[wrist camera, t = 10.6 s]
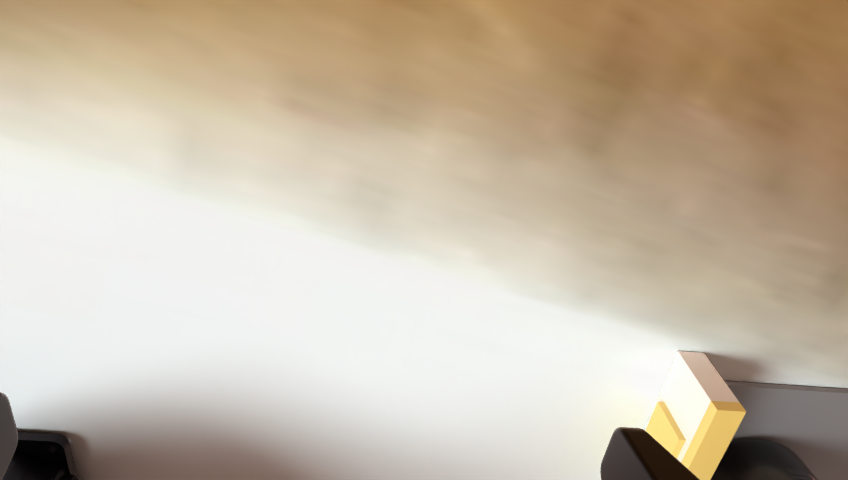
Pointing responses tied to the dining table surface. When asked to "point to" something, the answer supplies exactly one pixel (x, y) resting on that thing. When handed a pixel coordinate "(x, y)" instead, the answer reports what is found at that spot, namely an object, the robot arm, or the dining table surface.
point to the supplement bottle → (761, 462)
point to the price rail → (695, 414)
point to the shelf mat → (798, 423)
